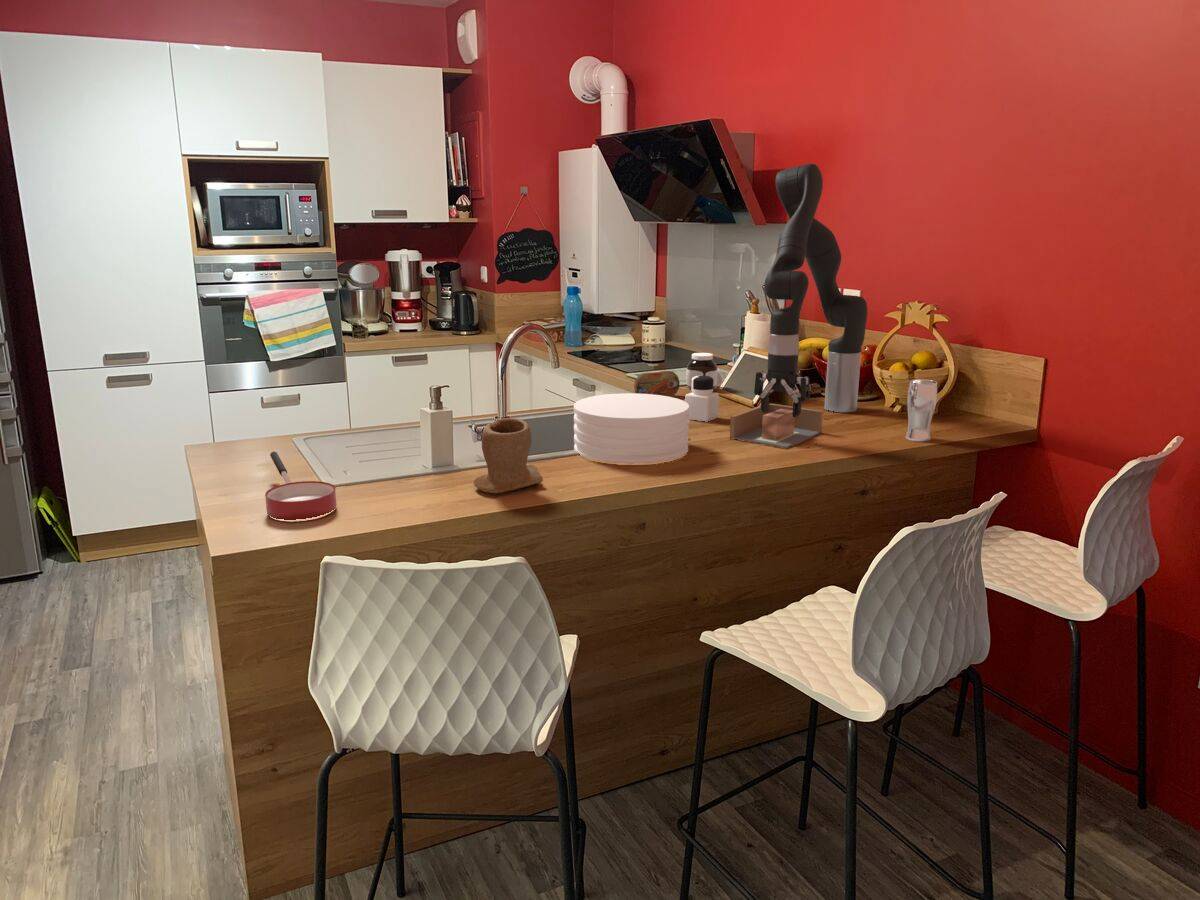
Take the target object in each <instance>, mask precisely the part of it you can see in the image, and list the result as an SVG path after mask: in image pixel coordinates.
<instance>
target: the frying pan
mask: <svg viewBox="0 0 1200 900" xmlns="http://www.w3.org/2000/svg"><path fill="white" fill-rule="evenodd" d="M269 455H270V458H271V459H272V462H273V464H274V465H275V467H276V469H277V471H278V474H279V475H280V476H281V477H282V478H283V481H284V482H285V483H282V484H279V485H276V486H274V487H271V488H270V489H268V490H266V492H265V495H264V497H265V505H266V513H267V514H268V515H269V516H271V517H273V518H276V519H284V520H296V519H306V518H312V517H317V516H320V515H324V514H326V513H329V512H331V511H332V510H334V509H335V508H336V506H337V495H336V486H335V485H333V484H332V483H330V482H326V481H325V482H324V481H317V480H305V481H303V480H302V481H294V482H293V481H292V480H291V479H290V478H291V477H289V475H288V471H287V469H286V466H285V465H284V463H283V462H282V460H281V458H280V456H279V453H278V452H277V451H272V452H270V454H269ZM337 507H338V506H337ZM336 509H337V508H336ZM267 514H266V515H267ZM268 515H267V516H268ZM269 516H268V517H269Z"/></svg>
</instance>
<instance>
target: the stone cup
mask: <svg viewBox="0 0 1200 900" xmlns="http://www.w3.org/2000/svg"><path fill="white" fill-rule="evenodd" d="M531 445H532V432H531V429H530V426H529V424H528V422H526V421H525V420H522V419H519V418H515V417H506V418H505V417H503V418H499V419H497V420H495V421H493V422H490V423H488V424H486V425H485V426H484V428H483V430H482V434H481V450H482V455H483V457H484V461H485V463H486V466H487V474H484V475H481V476H479V477H476V478H475V479H474V480H473V485H474V487H475V488H477V490H480V491H482V492H485V493H489V494H500V493H505V492H510V491H514V490H519V489H522V488H526V487H530V486H533V485H537V484H539V483H540V484H541V483H542V482H543V481H544V478H543V476H542V475H541V472H539V471H540V470H539V471H538V468H537V466H536V465H535V464H528V458H529V453H530V449H531Z"/></svg>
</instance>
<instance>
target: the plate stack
mask: <svg viewBox="0 0 1200 900" xmlns="http://www.w3.org/2000/svg"><path fill="white" fill-rule="evenodd" d="M573 412H574V414H573V423H574V424H573V433H574V435H573V443H574V444H573V445H574V446H573V451H578V452H577V453H579V454H580V455H581V456H584V457H586V458H589V459H593V460H598V461H605V462H612V463H628V464H634V463H638V464H639V463H655V462H662V461H668V460H673V459H676V458H679V457H681V456H683V455H685V454H686V453H687V452H688V453H689V435H688V434H689V433H690V432H689V430H690V426H689V423H690V420H689V415H688V413H689V404H688V403H686V402H685V400H682V399H680V398H676V397H674V396H672V397H668V396H662V395H653V394H636V393H635V392H634V393H633V392H632V393H626V392H625V393H608V394H599V395H593V396H588V397H584V398H582V399H579V400H577V401H576V402H574V404H573ZM579 450H582V451H579Z"/></svg>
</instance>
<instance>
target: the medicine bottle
mask: <svg viewBox="0 0 1200 900" xmlns="http://www.w3.org/2000/svg"><path fill="white" fill-rule="evenodd" d="M690 390H691V392H689V393H687V394H685V398H684V401H685V402H686V403H688V404H689V413H688V415H689V421H694V420H697V421H696V422H701V421H705V422H704V423H709V422H710V420H711V421H713V420H715V419H717V418H719V399H720V398H719V397H720V395H719V394H720V393H719V392H714V389H713V378H712V377H710V376H695V377H693V378H692V387H691V389H690ZM708 421H709V422H708Z"/></svg>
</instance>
